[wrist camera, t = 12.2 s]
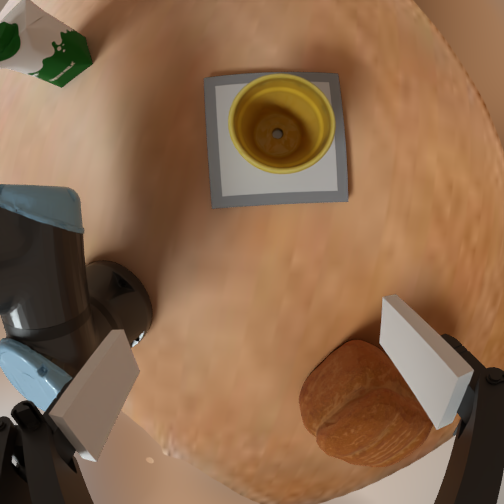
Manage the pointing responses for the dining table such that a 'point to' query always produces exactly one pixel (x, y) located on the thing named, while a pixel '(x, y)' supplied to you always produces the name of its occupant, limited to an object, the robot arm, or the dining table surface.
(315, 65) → the dining table surface
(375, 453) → the bread
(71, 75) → the milk carton
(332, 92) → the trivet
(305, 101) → the plant pot
